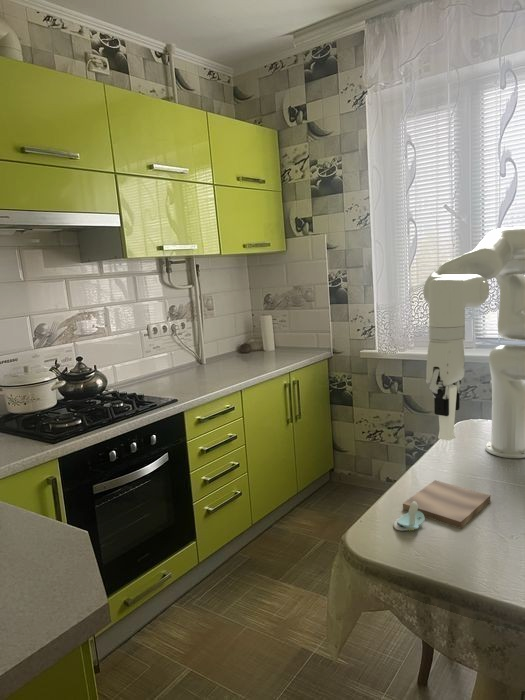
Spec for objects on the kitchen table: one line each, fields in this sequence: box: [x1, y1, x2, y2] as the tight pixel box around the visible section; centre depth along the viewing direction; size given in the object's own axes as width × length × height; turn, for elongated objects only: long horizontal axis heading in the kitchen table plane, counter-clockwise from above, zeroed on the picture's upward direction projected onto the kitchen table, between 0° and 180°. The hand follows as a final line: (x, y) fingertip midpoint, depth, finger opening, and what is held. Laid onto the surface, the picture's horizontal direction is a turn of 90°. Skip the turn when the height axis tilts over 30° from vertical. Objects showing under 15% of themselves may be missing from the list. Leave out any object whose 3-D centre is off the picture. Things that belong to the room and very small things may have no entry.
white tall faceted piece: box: [437, 382, 457, 441], centre depth 117 cm, size 5×4×15 cm
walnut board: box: [402, 479, 492, 529], centre depth 121 cm, size 16×14×2 cm
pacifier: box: [393, 501, 426, 532], centre depth 113 cm, size 7×6×6 cm
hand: (447, 411), depth 118 cm, fingers closed on white tall faceted piece, 4 cm apart
